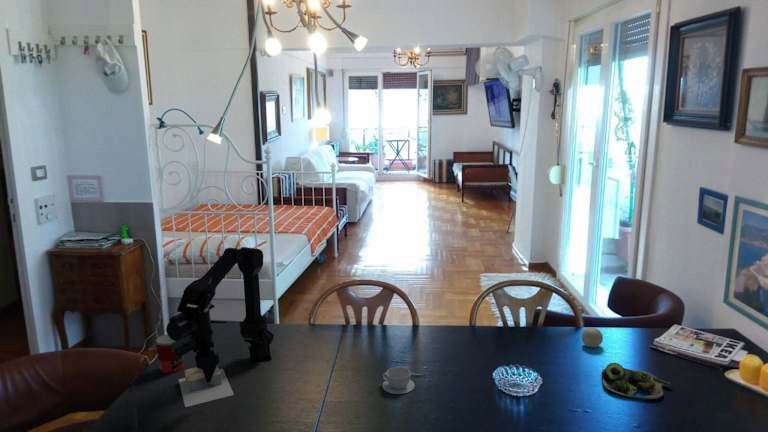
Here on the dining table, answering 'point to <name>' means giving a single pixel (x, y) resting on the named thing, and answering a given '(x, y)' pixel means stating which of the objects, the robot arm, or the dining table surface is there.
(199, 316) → the robot arm
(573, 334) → the dining table surface
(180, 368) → the canned food
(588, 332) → the baseball
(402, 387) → the teacup
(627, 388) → the salad plate
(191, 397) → the white flat tray
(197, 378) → the beech slab
